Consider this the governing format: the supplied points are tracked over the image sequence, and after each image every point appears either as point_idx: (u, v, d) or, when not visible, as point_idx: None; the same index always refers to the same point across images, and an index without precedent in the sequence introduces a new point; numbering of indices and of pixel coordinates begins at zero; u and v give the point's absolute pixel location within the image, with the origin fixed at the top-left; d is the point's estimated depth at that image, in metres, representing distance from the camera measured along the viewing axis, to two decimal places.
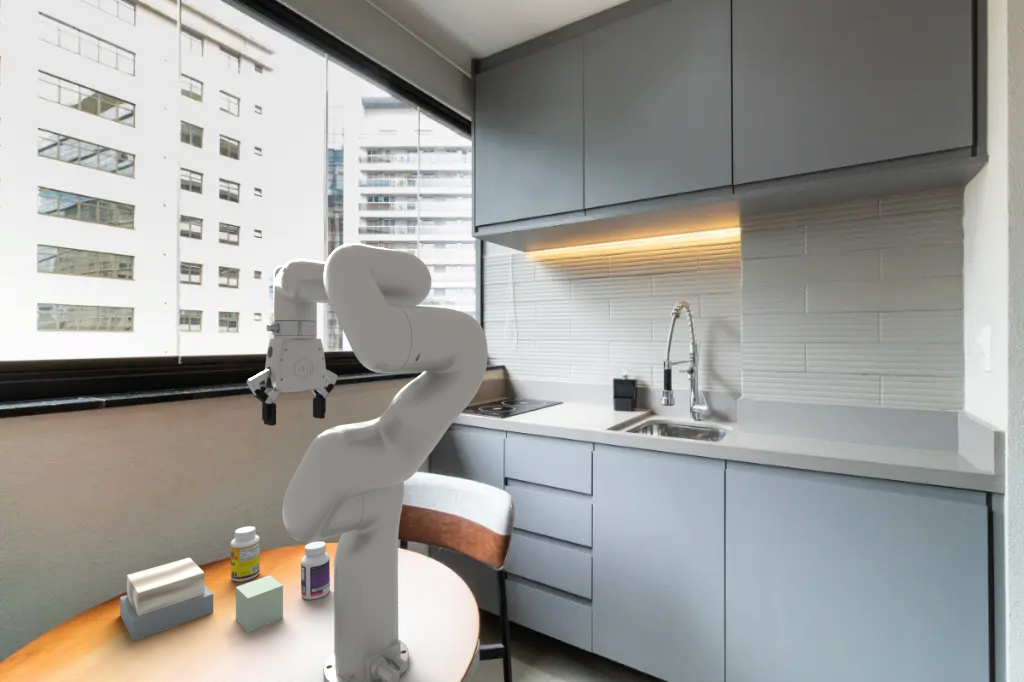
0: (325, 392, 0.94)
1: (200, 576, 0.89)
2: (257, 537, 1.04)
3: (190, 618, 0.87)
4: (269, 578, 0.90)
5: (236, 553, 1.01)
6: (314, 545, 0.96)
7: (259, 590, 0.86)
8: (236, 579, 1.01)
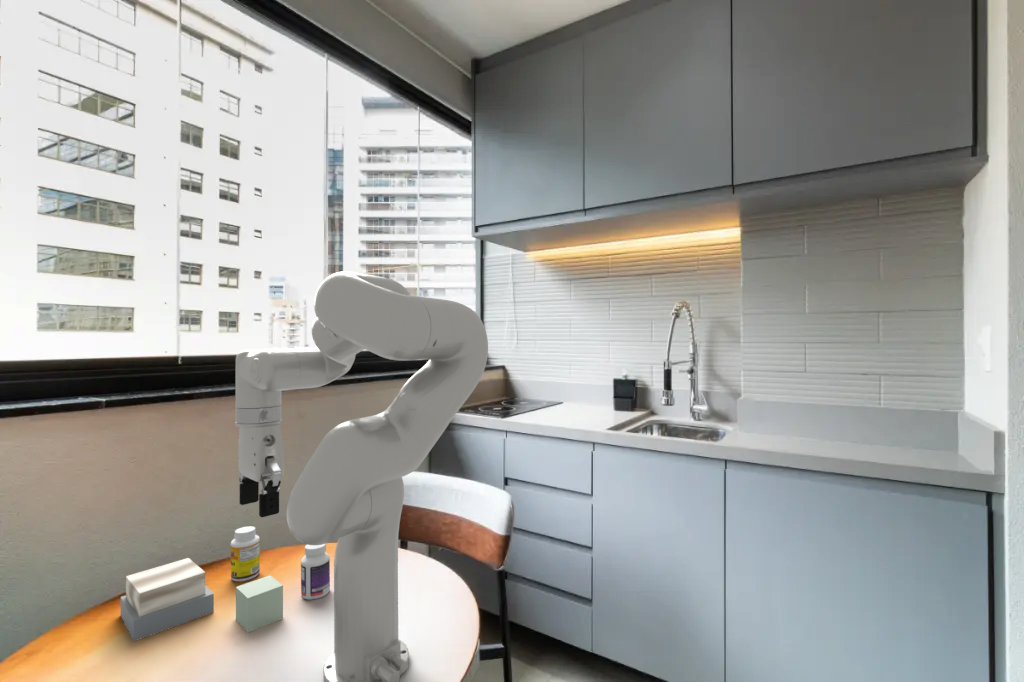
0: None
1: (201, 576, 0.89)
2: (257, 537, 1.04)
3: (190, 618, 0.87)
4: (269, 578, 0.90)
5: (236, 553, 1.01)
6: (314, 545, 0.96)
7: (259, 590, 0.86)
8: (236, 579, 1.01)
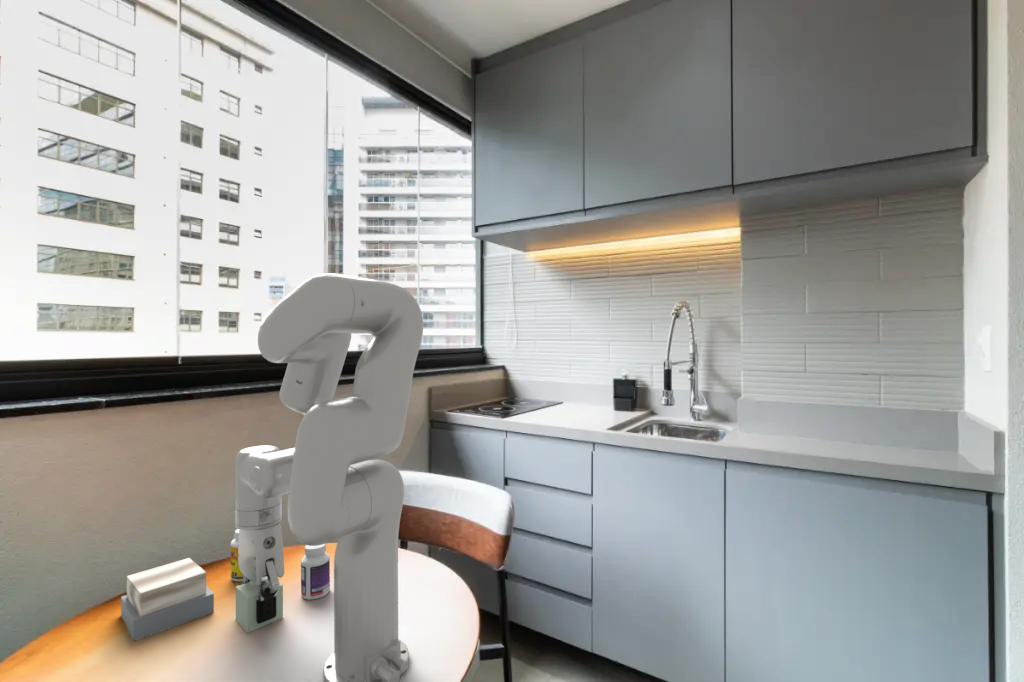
0: None
1: (201, 576, 0.89)
2: None
3: (191, 618, 0.87)
4: None
5: (236, 553, 1.01)
6: None
7: None
8: (236, 579, 1.01)
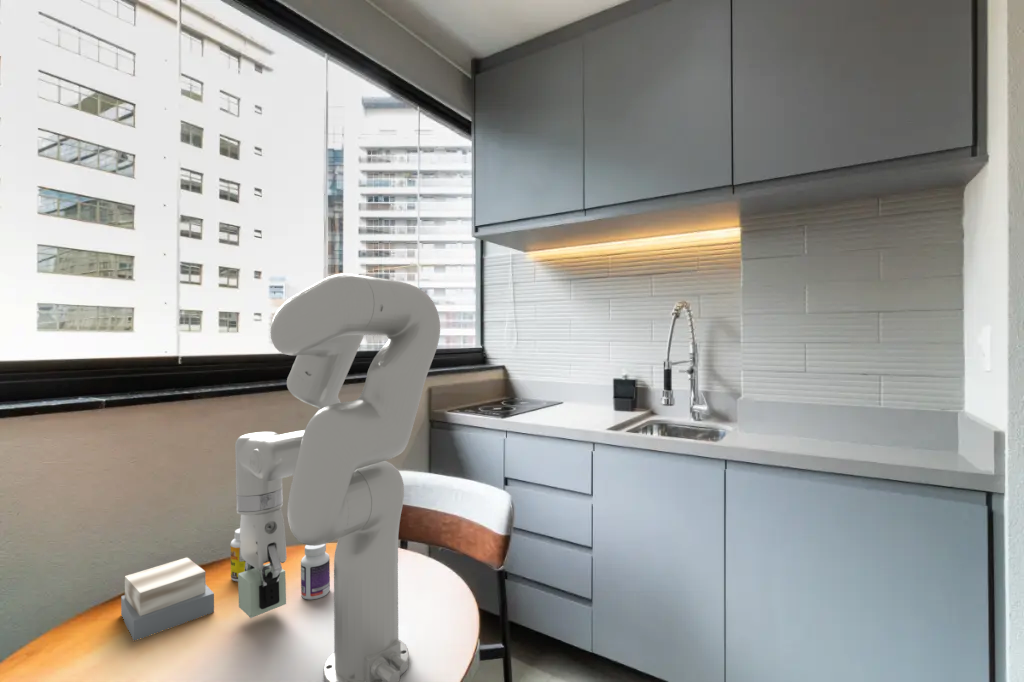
0: None
1: (201, 575, 0.89)
2: None
3: (191, 617, 0.87)
4: None
5: (236, 553, 1.01)
6: None
7: None
8: (236, 579, 1.01)
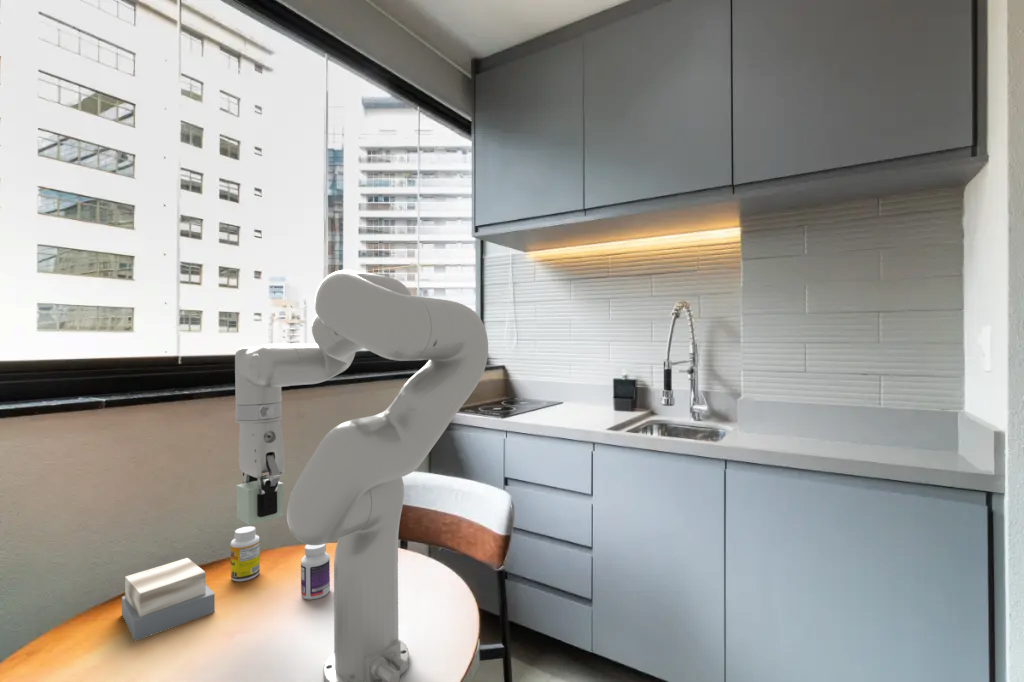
0: None
1: (201, 576, 0.89)
2: (257, 537, 1.04)
3: (191, 618, 0.87)
4: None
5: (236, 553, 1.01)
6: (314, 545, 0.96)
7: None
8: (236, 579, 1.01)
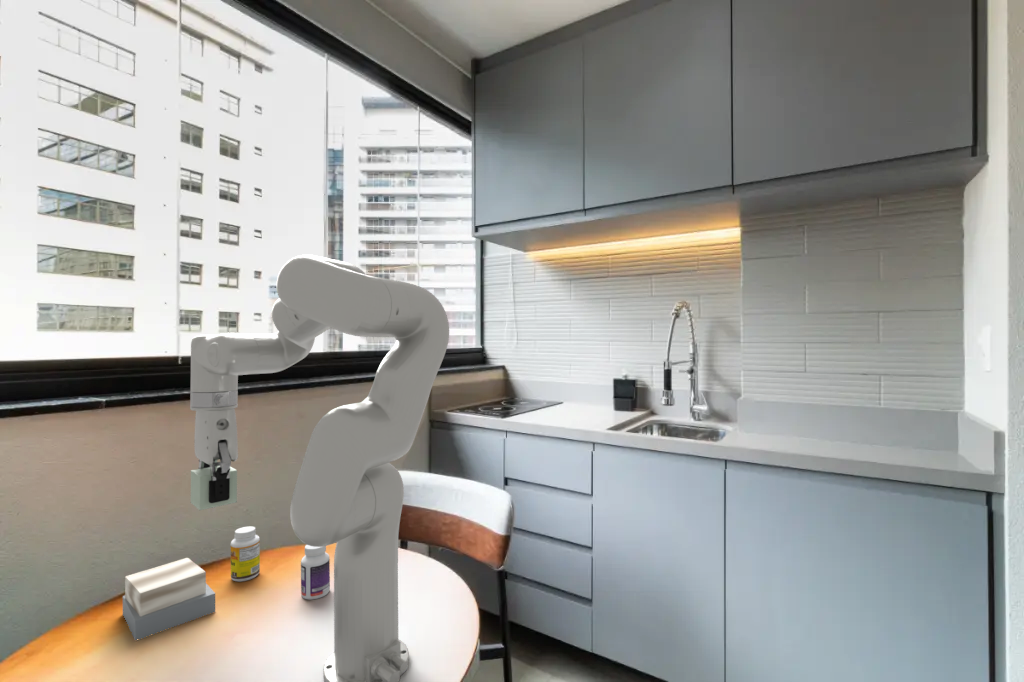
0: None
1: (201, 575, 0.89)
2: (257, 537, 1.05)
3: (192, 617, 0.87)
4: None
5: (236, 553, 1.01)
6: None
7: None
8: (236, 579, 1.01)
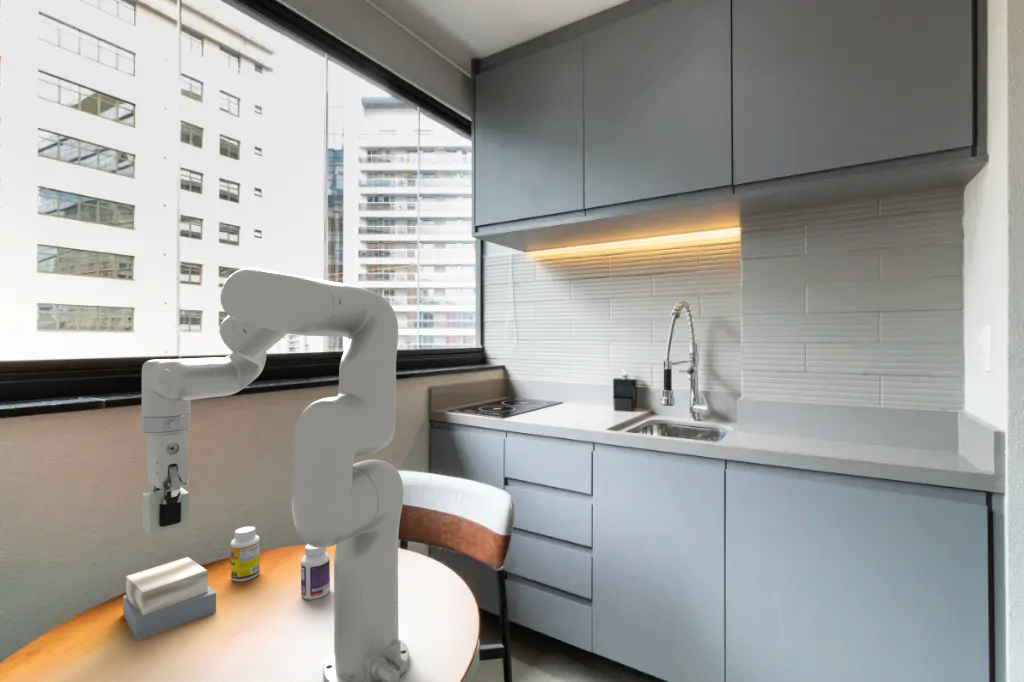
0: None
1: (203, 574, 0.90)
2: (257, 537, 1.04)
3: (193, 617, 0.87)
4: None
5: (236, 553, 1.01)
6: None
7: None
8: (236, 579, 1.01)
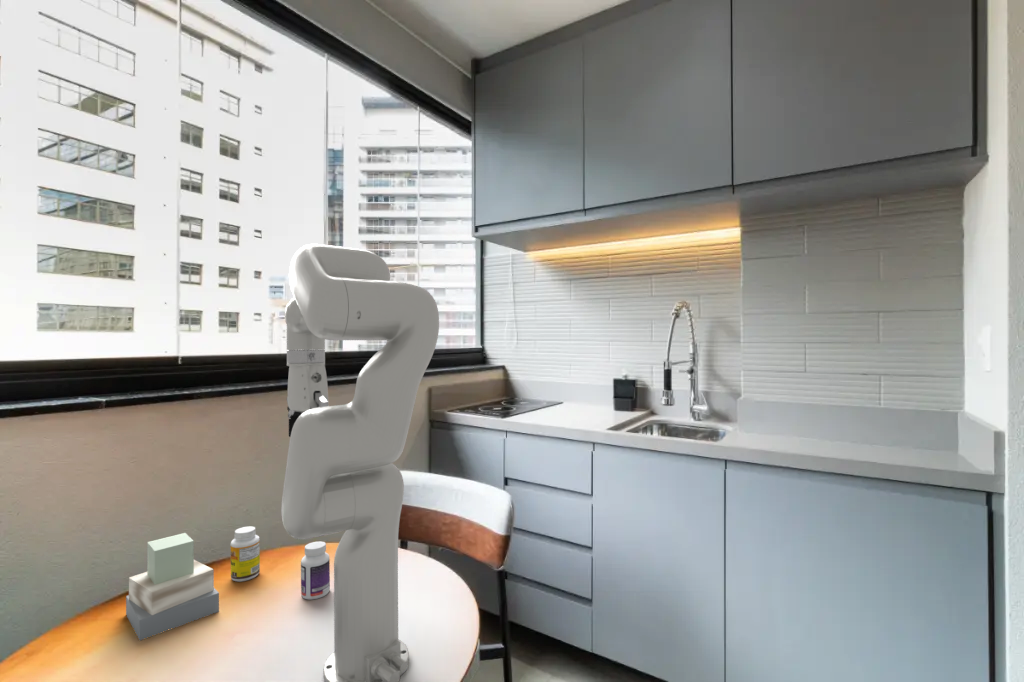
0: None
1: (209, 573, 0.90)
2: (257, 537, 1.04)
3: (196, 617, 0.87)
4: (183, 535, 0.92)
5: (236, 553, 1.01)
6: (314, 545, 0.96)
7: (169, 545, 0.88)
8: (236, 579, 1.01)
